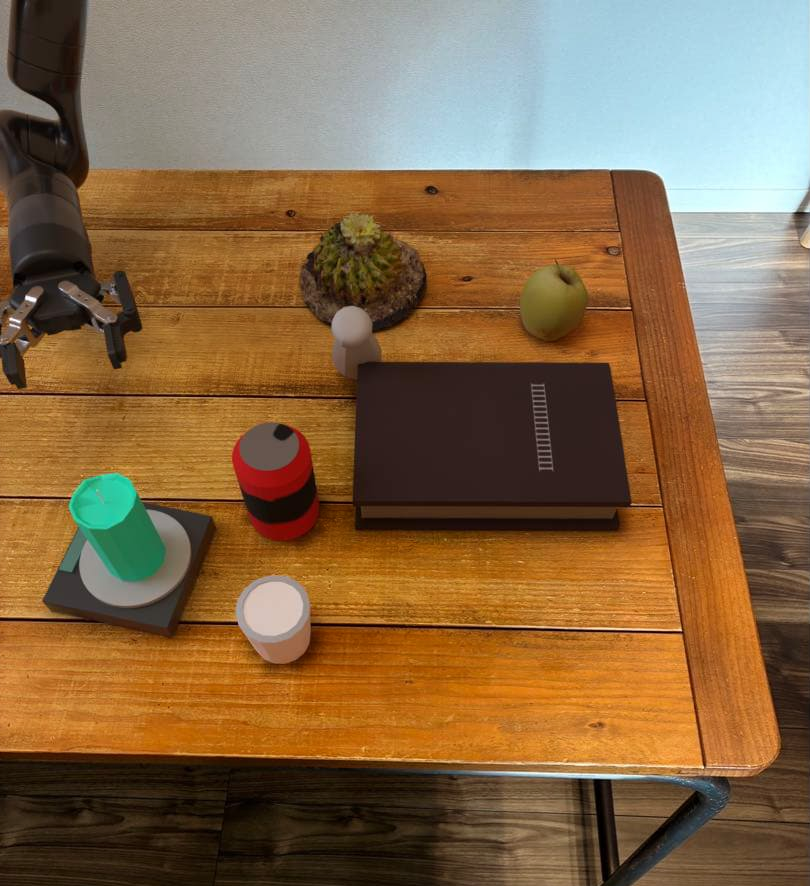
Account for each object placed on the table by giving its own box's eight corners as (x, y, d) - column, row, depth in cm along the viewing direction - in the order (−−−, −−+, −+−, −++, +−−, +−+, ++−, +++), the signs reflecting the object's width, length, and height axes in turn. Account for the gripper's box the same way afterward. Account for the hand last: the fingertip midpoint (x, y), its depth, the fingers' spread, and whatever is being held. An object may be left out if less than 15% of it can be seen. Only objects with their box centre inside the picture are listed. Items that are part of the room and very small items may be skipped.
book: (597, 388, 97) (608, 354, 92) (618, 531, 87) (631, 502, 82) (360, 387, 97) (358, 353, 91) (355, 530, 87) (352, 501, 82)
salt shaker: (326, 348, 97) (314, 308, 84) (370, 329, 97) (365, 286, 84) (345, 392, 97) (336, 359, 84) (390, 373, 97) (387, 337, 84)
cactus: (415, 341, 100) (416, 280, 92) (288, 326, 101) (277, 264, 93) (435, 245, 108) (438, 180, 100) (317, 231, 110) (310, 167, 101)
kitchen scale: (50, 611, 82) (39, 598, 80) (102, 504, 88) (93, 489, 86) (172, 638, 81) (165, 626, 78) (216, 527, 87) (210, 512, 84)
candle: (175, 537, 83) (143, 470, 73) (151, 588, 80) (113, 526, 70) (121, 523, 84) (81, 455, 73) (95, 573, 81) (49, 510, 70)
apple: (506, 343, 99) (524, 264, 92) (520, 313, 104) (537, 238, 97) (570, 360, 97) (593, 282, 91) (581, 329, 103) (603, 253, 96)
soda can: (333, 504, 89) (325, 437, 78) (290, 554, 86) (275, 492, 75) (279, 471, 91) (263, 402, 80) (234, 519, 88) (212, 454, 77)
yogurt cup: (237, 661, 80) (224, 633, 74) (260, 599, 83) (249, 567, 77) (305, 677, 79) (297, 650, 73) (325, 614, 82) (319, 583, 76)
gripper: (-41, 235, 77) (-34, 361, 69) (112, 207, 79) (136, 326, 72) (-8, 295, 83) (2, 416, 76) (133, 268, 86) (157, 383, 78)
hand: (67, 372), depth 74 cm, fingers open, 8 cm apart
